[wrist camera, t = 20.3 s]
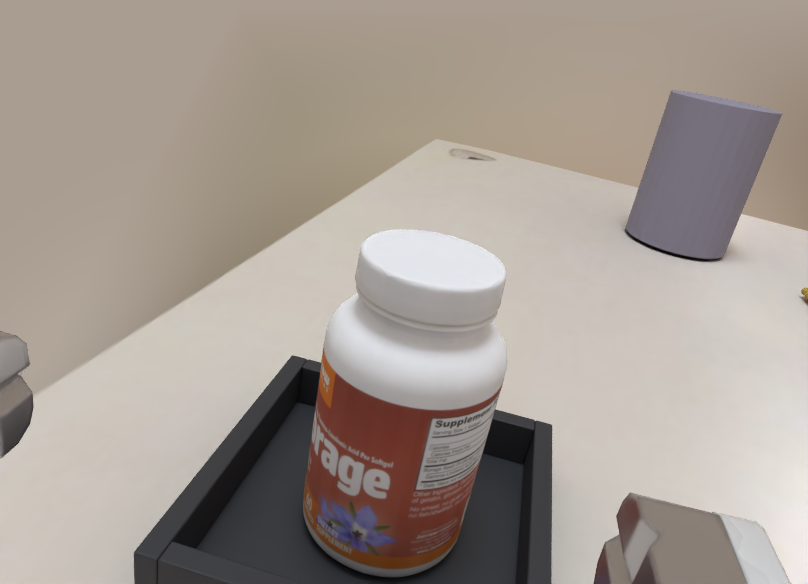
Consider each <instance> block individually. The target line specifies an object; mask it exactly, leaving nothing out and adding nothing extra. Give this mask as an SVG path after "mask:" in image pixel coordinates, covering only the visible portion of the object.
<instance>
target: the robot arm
mask: <svg viewBox="0 0 808 584" xmlns="http://www.w3.org/2000/svg"><path fill="white" fill-rule="evenodd" d="M29 364H30V363H29V356H28V349H27V344H26V343H25V342H24V341H23V340H21V339H20V338H19V337H18V336H16V335H12V334H9V333H5V332H2V331H0V458H2V457H3V456H5V455H6V454H7V453H8V452H9V451H10V450H11V449H13V448H14V447H15V446H16V445H17V444H18V443H19V441H20V440H21V438H22V436H23V435H24V433H25V431H26V430H27V428H28V426H29V425H30V421H31V417H32V412H33V394H32V391H31V390H30V388H29V387H28V385H27V384H26V382H25V381H24V380H23V378H22V377H21V374H22V373H23V372H24V371H25V370H26V369H27V367H28V366H29ZM616 517H617V522H618V528H619V533H620V534H619V535H618V536H616V537H614V538H612V539H610V540H609V541H607V542H605V544H604V547H603V549H602V552H601V555H600V557H599V560H598V563H597V568H596V574H595V580H594V584H791V583H790V581H789V578H788V576H787V574H786V572H785V570H784V568H783V566H782V564H781V562H780V560H779V558H778V556H777V554H776V552H775V550H774V548H773V546H772V544H771V542H770V539H769V537H768V535H767V533H766V531H765V530H764V528H763V527H761V526H760V525H759V524H758V523H757V522H756V521H752V520H747V519H743V518H738V517H734V516H729V515H725V514H721V513H716V512H712V513H710V512H706V511H702V510H698V509H694V508H690V507H686V506H682V505H678V504H674V503H670V502H666V501H662V500H658V499H654V498H650V497H646V496H642V495H638V494H634V493H629V495H628V496H627V497H626V498H625V499H624V501H623V502H622V505H621V507H620V509H619V511H618V514H617V516H616Z"/></svg>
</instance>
